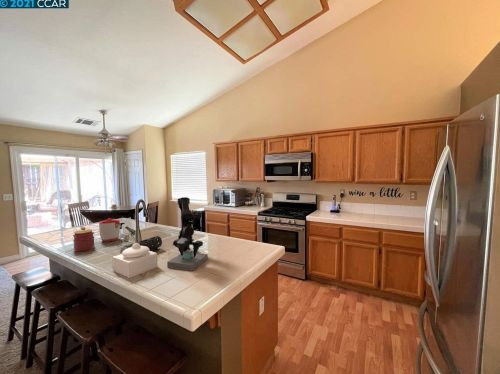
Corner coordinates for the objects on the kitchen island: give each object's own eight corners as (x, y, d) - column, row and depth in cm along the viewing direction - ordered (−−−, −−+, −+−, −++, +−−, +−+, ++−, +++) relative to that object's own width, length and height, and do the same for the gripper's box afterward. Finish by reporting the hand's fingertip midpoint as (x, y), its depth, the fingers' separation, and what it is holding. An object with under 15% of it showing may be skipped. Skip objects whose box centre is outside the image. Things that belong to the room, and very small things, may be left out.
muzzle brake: (162, 249, 167) (162, 236, 167) (129, 262, 142) (128, 247, 142) (153, 247, 172) (153, 234, 171) (119, 260, 146) (118, 245, 146)
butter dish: (129, 278, 120) (128, 250, 119) (112, 271, 130) (111, 245, 129) (157, 267, 135) (156, 241, 134) (141, 261, 145) (140, 237, 144)
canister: (69, 250, 166) (68, 228, 165) (87, 245, 178) (86, 224, 177) (80, 253, 161) (79, 229, 160) (98, 247, 173) (97, 225, 172)
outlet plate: (167, 267, 134) (167, 261, 134) (184, 256, 151) (184, 251, 151) (193, 270, 129) (193, 264, 129) (207, 259, 146) (207, 254, 146)
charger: (183, 264, 139) (183, 251, 138) (187, 261, 143) (187, 249, 142) (189, 264, 138) (189, 252, 137) (192, 262, 141) (192, 250, 141)
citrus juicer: (115, 242, 185) (114, 219, 184) (95, 243, 185) (94, 219, 184) (126, 237, 200) (125, 216, 199) (107, 237, 201) (106, 216, 200)
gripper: (166, 234, 134) (167, 259, 135) (193, 236, 128) (194, 262, 129) (178, 230, 145) (178, 253, 145) (203, 232, 139) (203, 256, 140)
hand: (188, 256), depth 140 cm, fingers open, 9 cm apart
